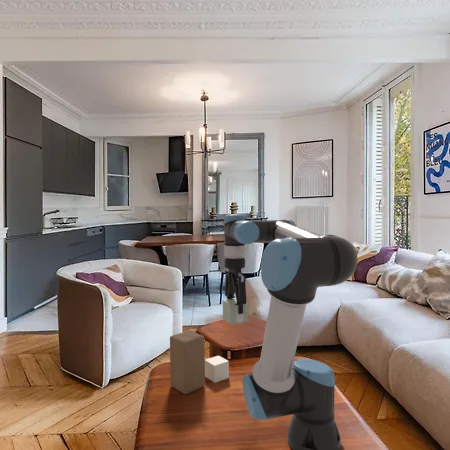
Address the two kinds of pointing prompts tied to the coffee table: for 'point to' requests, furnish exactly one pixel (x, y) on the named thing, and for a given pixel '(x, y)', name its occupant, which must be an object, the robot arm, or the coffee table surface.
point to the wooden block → (187, 361)
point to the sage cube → (233, 311)
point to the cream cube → (216, 369)
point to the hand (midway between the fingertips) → (235, 319)
